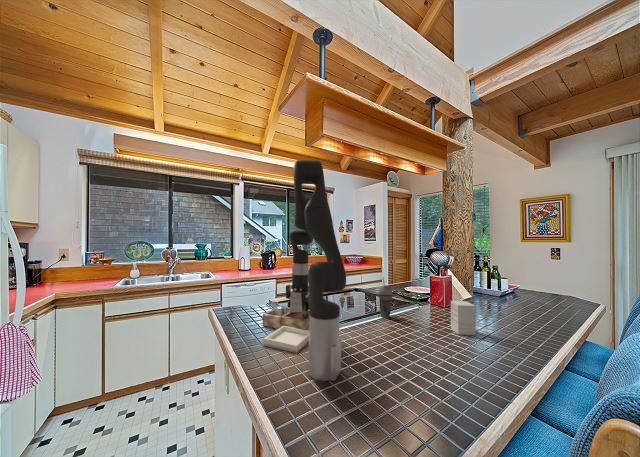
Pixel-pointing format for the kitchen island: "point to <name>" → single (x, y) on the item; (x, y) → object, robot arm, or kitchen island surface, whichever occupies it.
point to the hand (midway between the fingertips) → (299, 309)
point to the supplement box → (463, 317)
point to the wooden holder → (284, 320)
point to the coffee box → (298, 305)
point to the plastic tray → (287, 339)
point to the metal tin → (280, 310)
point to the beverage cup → (385, 301)
